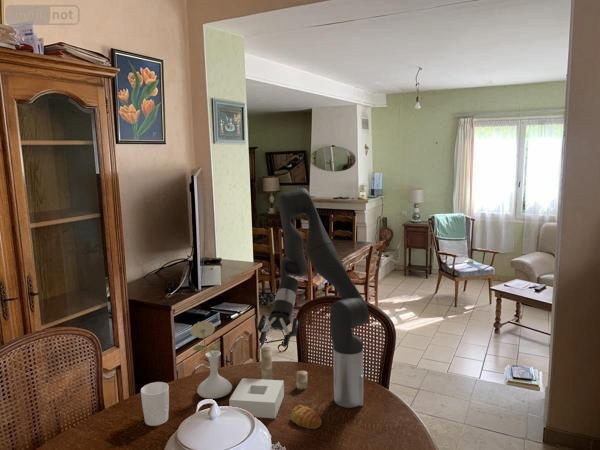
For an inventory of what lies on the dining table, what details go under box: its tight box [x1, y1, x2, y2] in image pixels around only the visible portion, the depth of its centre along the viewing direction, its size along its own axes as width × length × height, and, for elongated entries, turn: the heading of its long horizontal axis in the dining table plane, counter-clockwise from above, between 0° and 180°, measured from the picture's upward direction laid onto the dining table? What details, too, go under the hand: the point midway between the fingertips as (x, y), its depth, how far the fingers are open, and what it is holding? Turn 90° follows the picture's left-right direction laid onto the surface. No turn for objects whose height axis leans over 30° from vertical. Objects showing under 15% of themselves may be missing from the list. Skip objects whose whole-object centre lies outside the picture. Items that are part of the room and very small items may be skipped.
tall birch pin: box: [260, 346, 273, 380], centre depth 154 cm, size 4×4×13 cm
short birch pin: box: [296, 370, 308, 391], centre depth 153 cm, size 4×4×5 cm
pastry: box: [290, 404, 323, 430], centre depth 132 cm, size 9×7×4 cm
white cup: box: [140, 381, 170, 427], centre depth 135 cm, size 8×8×10 cm
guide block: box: [228, 377, 285, 419], centre depth 142 cm, size 14×14×5 cm
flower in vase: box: [189, 320, 233, 400], centre depth 149 cm, size 13×11×25 cm
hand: (273, 344), depth 159 cm, fingers open, 8 cm apart
